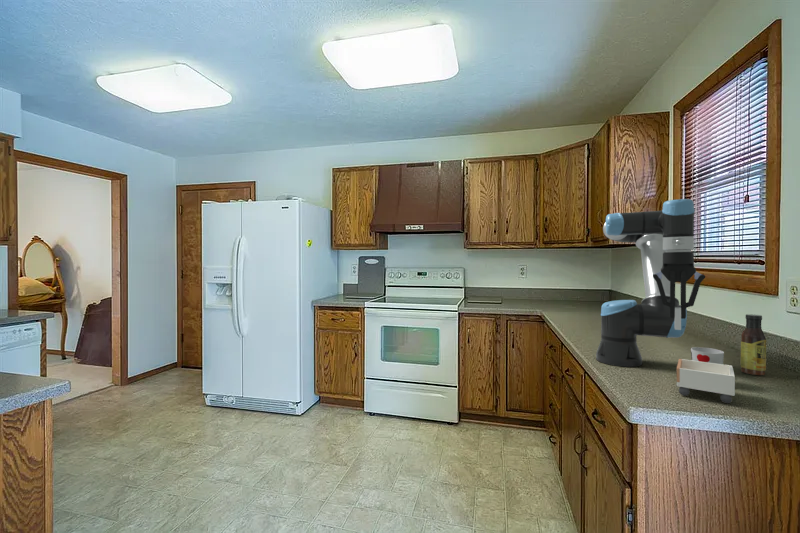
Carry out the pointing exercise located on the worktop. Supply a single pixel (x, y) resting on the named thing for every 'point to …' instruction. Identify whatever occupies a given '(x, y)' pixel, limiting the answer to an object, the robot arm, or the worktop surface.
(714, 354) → the cup
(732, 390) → the white open box
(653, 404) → the worktop surface
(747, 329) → the sauce bottle
